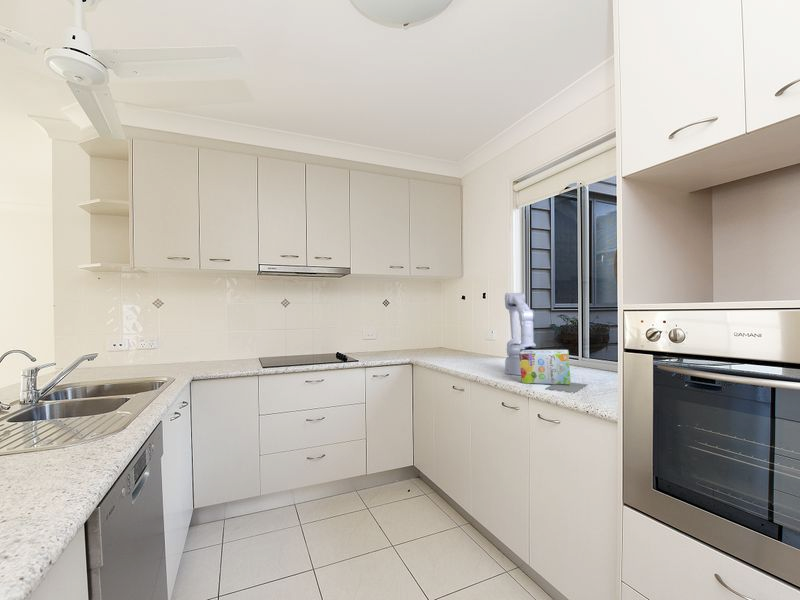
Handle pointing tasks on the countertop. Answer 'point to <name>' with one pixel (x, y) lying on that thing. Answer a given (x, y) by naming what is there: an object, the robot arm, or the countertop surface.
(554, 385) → the mat
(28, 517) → the countertop surface
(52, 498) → the countertop surface
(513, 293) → the robot arm
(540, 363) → the snack box
